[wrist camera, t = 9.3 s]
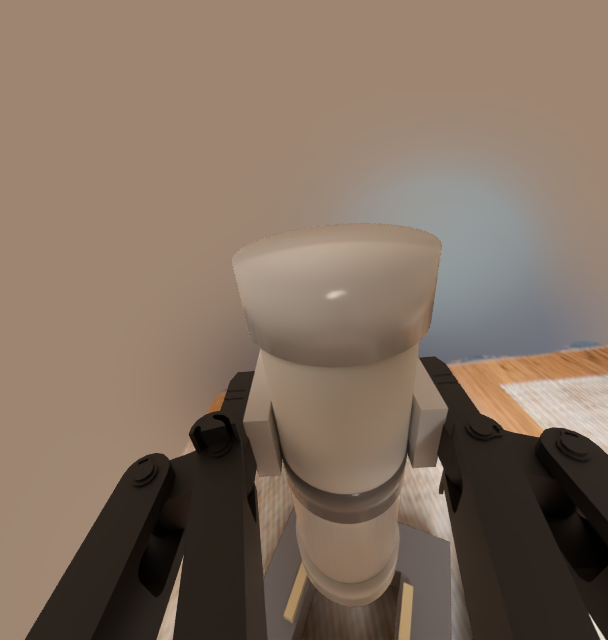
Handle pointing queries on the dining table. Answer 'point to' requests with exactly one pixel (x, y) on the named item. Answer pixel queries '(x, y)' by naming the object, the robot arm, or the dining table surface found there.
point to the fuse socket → (409, 578)
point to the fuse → (342, 384)
